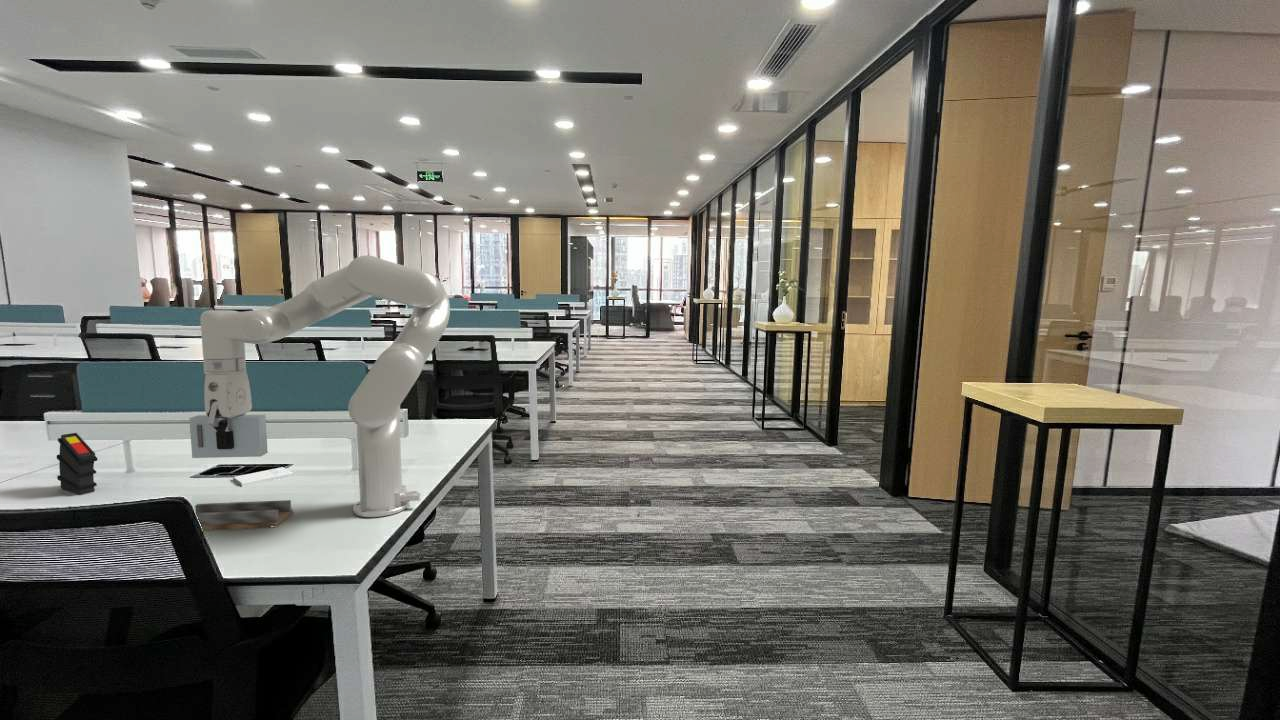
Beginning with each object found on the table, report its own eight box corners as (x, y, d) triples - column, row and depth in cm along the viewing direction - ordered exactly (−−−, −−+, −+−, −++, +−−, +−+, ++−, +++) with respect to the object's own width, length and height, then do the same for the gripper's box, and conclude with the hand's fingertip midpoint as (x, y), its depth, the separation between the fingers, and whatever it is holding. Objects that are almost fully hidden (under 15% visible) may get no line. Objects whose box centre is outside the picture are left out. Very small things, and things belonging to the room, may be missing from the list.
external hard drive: (233, 482, 157) (282, 471, 167) (242, 488, 152) (293, 477, 161) (232, 476, 157) (282, 466, 166) (241, 482, 152) (292, 471, 161)
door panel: (267, 452, 129) (265, 414, 128) (259, 457, 126) (257, 417, 125) (200, 454, 127) (197, 415, 126) (191, 458, 124) (188, 418, 123)
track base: (292, 513, 134) (291, 499, 133) (276, 527, 126) (275, 512, 125) (200, 517, 131) (199, 503, 130) (177, 531, 123) (176, 516, 123)
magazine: (71, 477, 153) (77, 431, 149) (94, 504, 149) (101, 458, 144) (52, 481, 150) (58, 434, 145) (75, 509, 145) (82, 462, 141)
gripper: (221, 370, 117) (227, 456, 119) (262, 361, 133) (267, 437, 135) (182, 370, 116) (188, 457, 118) (228, 361, 132) (233, 437, 134)
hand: (230, 445), depth 126 cm, fingers closed on door panel, 3 cm apart
